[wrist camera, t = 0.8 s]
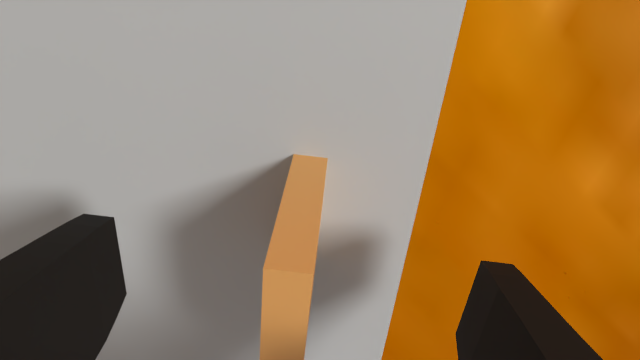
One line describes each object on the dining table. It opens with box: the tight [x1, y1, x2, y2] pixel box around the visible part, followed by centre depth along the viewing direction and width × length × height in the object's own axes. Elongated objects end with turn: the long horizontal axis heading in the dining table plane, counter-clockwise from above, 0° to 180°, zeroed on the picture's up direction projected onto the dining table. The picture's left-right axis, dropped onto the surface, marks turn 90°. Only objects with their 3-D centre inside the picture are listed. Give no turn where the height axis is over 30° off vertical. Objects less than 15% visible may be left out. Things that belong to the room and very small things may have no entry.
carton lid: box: [0, 0, 467, 360], centre depth 10 cm, size 15×14×4 cm
